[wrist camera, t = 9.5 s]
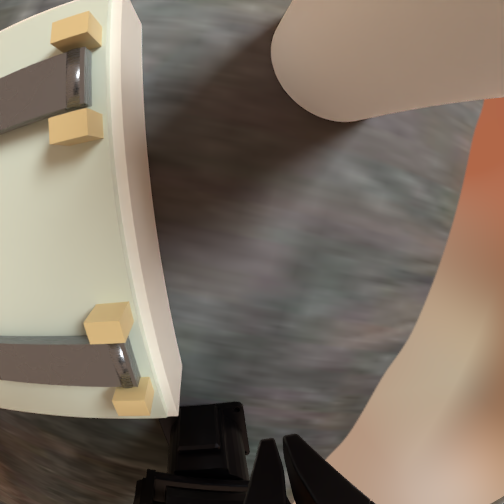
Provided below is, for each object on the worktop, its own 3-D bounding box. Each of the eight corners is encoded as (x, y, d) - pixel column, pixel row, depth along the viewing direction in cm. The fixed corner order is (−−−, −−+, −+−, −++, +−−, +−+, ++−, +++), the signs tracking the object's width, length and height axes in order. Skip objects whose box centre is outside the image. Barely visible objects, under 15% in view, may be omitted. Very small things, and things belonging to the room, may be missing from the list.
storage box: (182, 365, 21) (176, 449, 13) (11, 367, 19) (-30, 426, 12) (142, 25, 14) (109, -41, 7) (-41, 91, 13) (-109, 82, 6)
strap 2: (128, 332, 13) (123, 344, 12) (141, 375, 14) (137, 387, 13) (-54, 332, 12) (-62, 339, 11) (-39, 365, 13) (-47, 373, 12)
